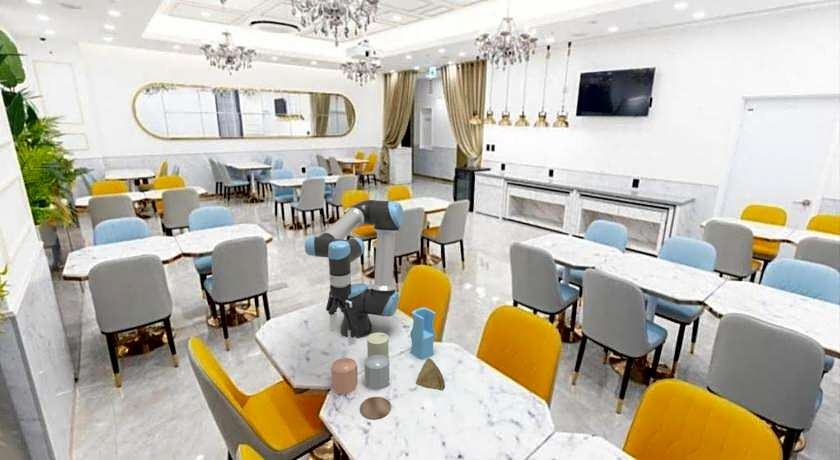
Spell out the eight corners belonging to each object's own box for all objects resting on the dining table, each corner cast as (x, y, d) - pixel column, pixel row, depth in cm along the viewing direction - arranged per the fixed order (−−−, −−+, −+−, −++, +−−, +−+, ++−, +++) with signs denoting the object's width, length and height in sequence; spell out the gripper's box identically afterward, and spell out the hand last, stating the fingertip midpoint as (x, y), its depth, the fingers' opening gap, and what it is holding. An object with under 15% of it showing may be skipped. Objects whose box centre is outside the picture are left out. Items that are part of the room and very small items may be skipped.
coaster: (379, 394, 149) (379, 392, 149) (397, 409, 141) (397, 408, 141) (354, 406, 142) (354, 405, 142) (371, 424, 134) (371, 422, 134)
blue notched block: (421, 360, 171) (422, 318, 166) (410, 352, 176) (410, 311, 171) (435, 353, 176) (436, 313, 171) (423, 346, 182) (423, 306, 176)
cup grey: (380, 372, 163) (379, 352, 160) (393, 383, 156) (393, 362, 153) (361, 380, 157) (360, 360, 154) (374, 392, 150) (373, 371, 148)
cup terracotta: (349, 375, 160) (348, 355, 158) (361, 386, 153) (360, 365, 151) (328, 384, 154) (327, 363, 152) (340, 396, 148) (339, 375, 145)
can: (393, 361, 170) (393, 336, 166) (377, 371, 163) (376, 345, 160) (379, 353, 176) (378, 329, 173) (362, 362, 169) (362, 337, 166)
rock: (452, 381, 154) (437, 365, 161) (444, 371, 148) (428, 356, 156) (433, 402, 151) (418, 385, 159) (424, 393, 146) (409, 377, 153)
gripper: (315, 276, 149) (318, 326, 155) (349, 298, 131) (351, 354, 137) (333, 271, 154) (335, 321, 160) (368, 292, 136) (369, 347, 141)
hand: (342, 336), depth 148 cm, fingers open, 13 cm apart
